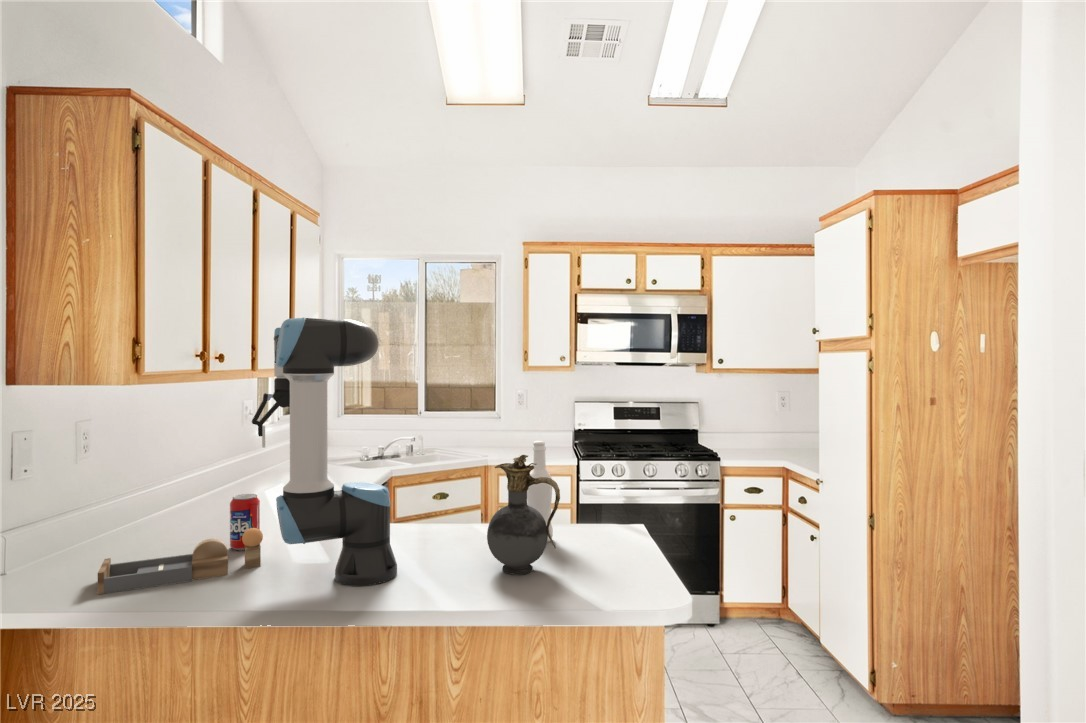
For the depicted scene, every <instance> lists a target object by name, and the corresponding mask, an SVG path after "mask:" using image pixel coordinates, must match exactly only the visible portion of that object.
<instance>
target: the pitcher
mask: <svg viewBox="0 0 1086 723" xmlns="http://www.w3.org/2000/svg"><path fill="white" fill-rule="evenodd" d="M528 457H529V455H526V454H521V455H519V456H518V457H514V458H513V459H512V461H513V463H510V462H506V463H501V464H497V465H495V466H494V469H501V470H503V472H504V473H505V475H506V479H507V485H506V488H507V492H508V493H507V496H508V498H507V500H508V501H507V502H508V503H507V505H506V506H503V507H501V508H500V509H498V510H497V511H496V512H495V513H494V514H493V515H492V517H491V519H490V521H489V524H488V528H487V531H486V533H487V534H486V540H487V545H488V548H489V550H490V553H491V554H492V556H493V558H495V559H496V560H497V561H498V562H500V563H501V564H503V566H502V568H501V570H502V572H504V573H506V574H509V575H526V574H530V573H531V572H532V571H533V570H534V569H533V565H532V564H533V563H535V562H536V561H537V560H539V559H540V558H541V556H542V555H543V554H544V552H545V549H546V547H547V545H548V543H547V539H548V537H549V539H550V540H551V541H550V542H551V544H552V546H553V548H554V549H556V548H557V547H556V544H555V542H554V539H553V537H552V538H551V535H550V532H549V525H550V522H551V523H552V520H553V517H554V516H555V514H556V512H557V510H558V506H559V503H560V500H561V492H560V490H561V489H560V488H559V485H558V483H557V482H556V481H555V480H554V479H553V478H552V477H551V478H552V479H551V478H548V477H539V478H533V477H532V476H530V472H531V471H532V470H533V469H534V466H533V464H534V463H533V462H531V463H529V464H528V465H526V463H525V462H526V461H527V459H526V458H528ZM534 465H536V464H534ZM539 483H547V484H549V485H551V486H552V489H553V490H554V493H555V494H554V495H555V499H554V503H553V504H554V505H553V509H552V510H551V515H550V517H549V519H548V522H547V525H546V522H545V520H544V518H543V516H542V515H541V514H540V512H538V511H537V510H536V509H534V508H533V507H531V506H528V505H527V490H528V488H529V486H531V485H533V484H539Z"/></svg>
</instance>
